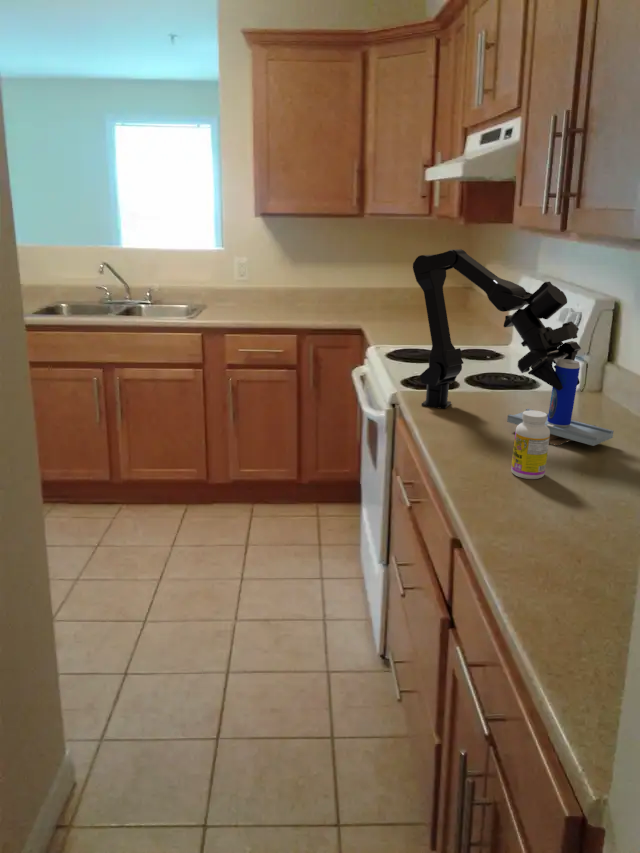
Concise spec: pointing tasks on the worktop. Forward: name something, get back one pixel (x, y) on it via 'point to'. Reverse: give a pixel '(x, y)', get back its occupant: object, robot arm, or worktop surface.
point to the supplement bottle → (531, 446)
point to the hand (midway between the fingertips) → (569, 386)
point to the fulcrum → (557, 439)
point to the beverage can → (564, 393)
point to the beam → (573, 430)
